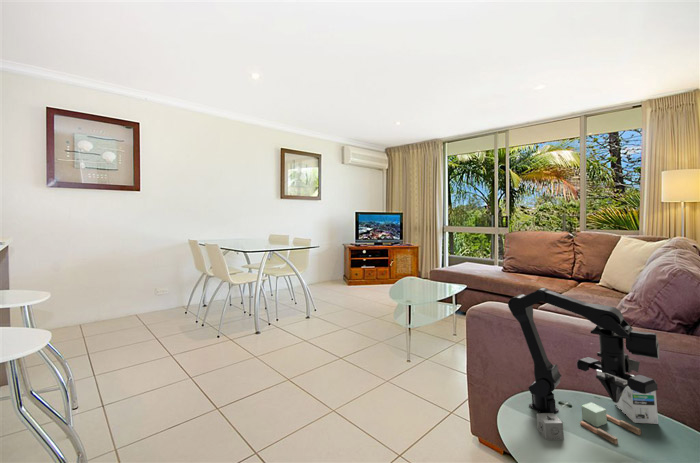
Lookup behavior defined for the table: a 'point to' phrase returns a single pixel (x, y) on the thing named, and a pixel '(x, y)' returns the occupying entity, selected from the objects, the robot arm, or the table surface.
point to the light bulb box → (639, 406)
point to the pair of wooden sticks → (607, 435)
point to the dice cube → (550, 426)
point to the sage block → (594, 414)
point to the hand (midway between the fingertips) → (615, 402)
